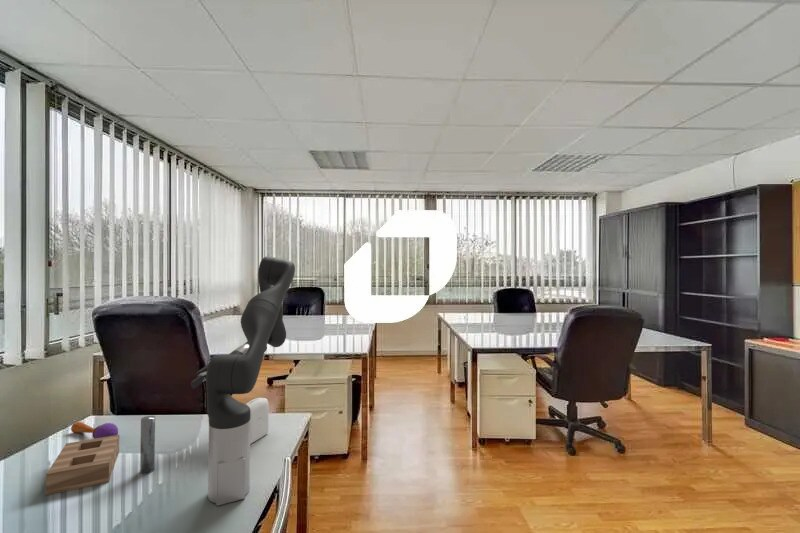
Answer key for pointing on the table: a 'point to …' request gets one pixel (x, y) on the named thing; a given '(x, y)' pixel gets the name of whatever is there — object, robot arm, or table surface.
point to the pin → (147, 444)
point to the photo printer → (258, 418)
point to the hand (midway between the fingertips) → (202, 389)
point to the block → (83, 464)
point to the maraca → (96, 429)
